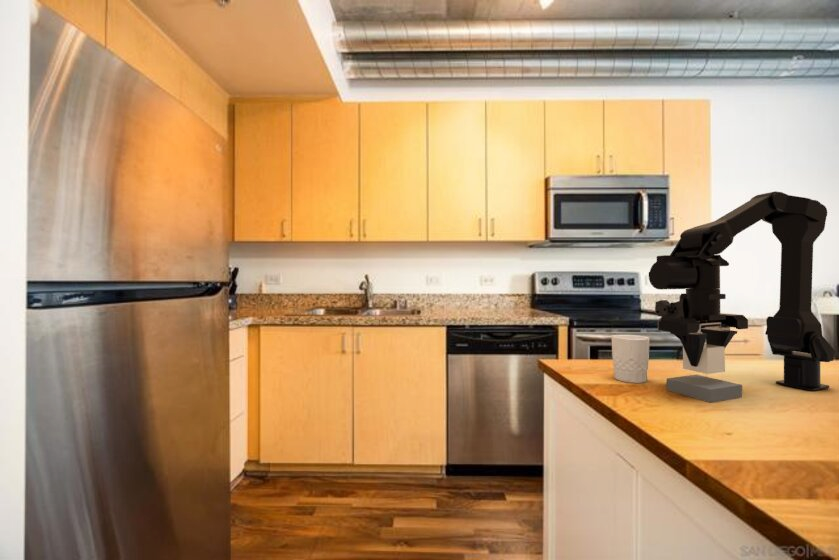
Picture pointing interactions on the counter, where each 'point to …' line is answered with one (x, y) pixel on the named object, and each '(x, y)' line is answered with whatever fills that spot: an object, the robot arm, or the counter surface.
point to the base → (704, 388)
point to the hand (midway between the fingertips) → (703, 365)
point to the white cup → (630, 357)
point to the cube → (708, 360)
